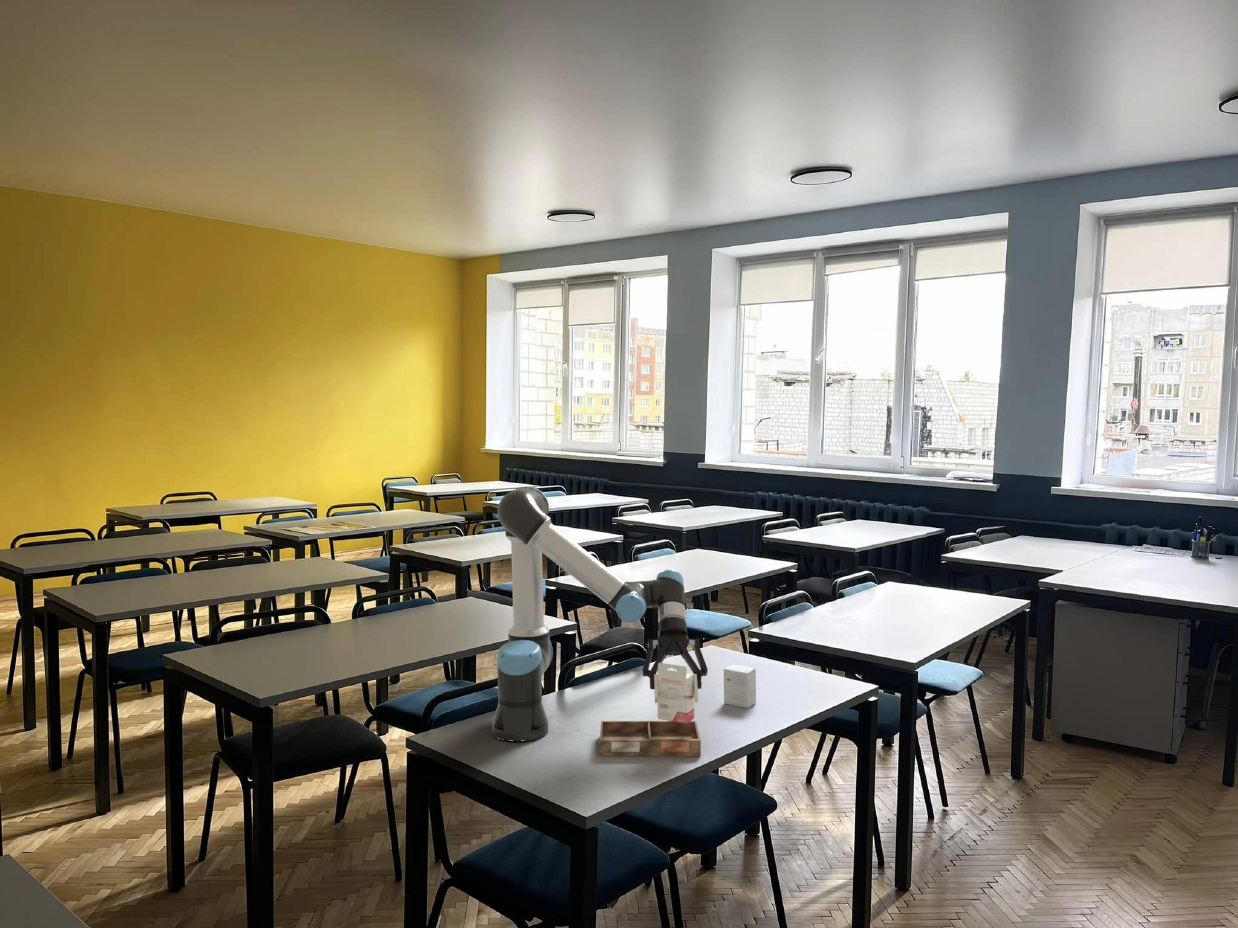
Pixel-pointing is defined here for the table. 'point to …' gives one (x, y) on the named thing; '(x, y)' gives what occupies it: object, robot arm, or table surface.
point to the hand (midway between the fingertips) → (676, 700)
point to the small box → (739, 686)
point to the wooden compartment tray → (649, 738)
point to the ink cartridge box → (675, 693)
